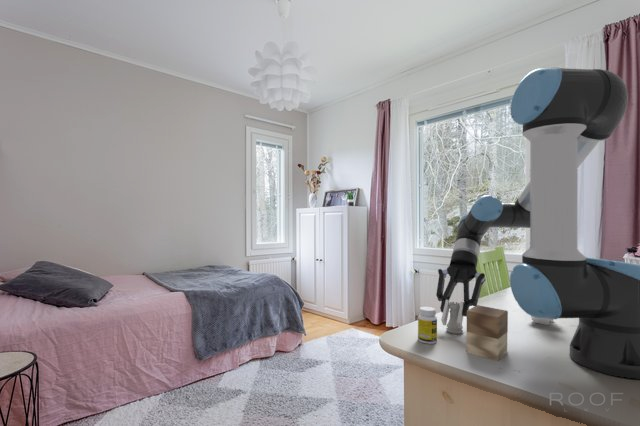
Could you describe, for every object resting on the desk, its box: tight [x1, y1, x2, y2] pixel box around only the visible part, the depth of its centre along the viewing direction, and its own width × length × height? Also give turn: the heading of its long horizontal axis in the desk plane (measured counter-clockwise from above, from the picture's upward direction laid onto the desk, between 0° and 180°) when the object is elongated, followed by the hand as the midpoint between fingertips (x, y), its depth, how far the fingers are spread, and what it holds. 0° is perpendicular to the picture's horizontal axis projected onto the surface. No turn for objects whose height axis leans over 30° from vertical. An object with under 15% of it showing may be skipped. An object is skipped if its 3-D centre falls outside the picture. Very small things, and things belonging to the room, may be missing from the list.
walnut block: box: [466, 304, 509, 339], centre depth 82 cm, size 7×7×5 cm
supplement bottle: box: [417, 306, 438, 345], centre depth 89 cm, size 5×5×8 cm
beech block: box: [465, 330, 508, 361], centre depth 82 cm, size 7×7×5 cm
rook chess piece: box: [446, 301, 464, 335], centre depth 96 cm, size 4×4×8 cm
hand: (451, 323), depth 93 cm, fingers closed on rook chess piece, 3 cm apart
